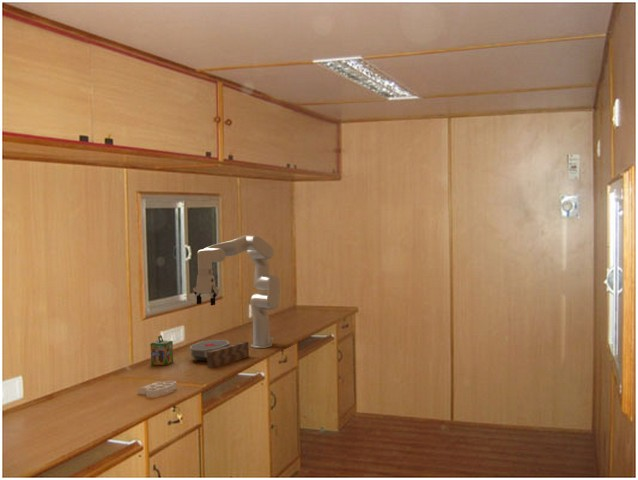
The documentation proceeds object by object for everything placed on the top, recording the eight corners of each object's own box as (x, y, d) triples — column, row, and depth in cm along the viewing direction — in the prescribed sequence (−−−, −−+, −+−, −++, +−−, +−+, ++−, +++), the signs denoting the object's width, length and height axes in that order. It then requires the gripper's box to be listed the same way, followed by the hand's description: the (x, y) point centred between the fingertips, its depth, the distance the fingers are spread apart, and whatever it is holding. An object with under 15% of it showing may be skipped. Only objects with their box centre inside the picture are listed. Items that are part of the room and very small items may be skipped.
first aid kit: (213, 364, 362) (235, 354, 386) (212, 350, 362) (234, 341, 385) (184, 362, 368) (207, 352, 392) (183, 348, 368) (207, 339, 391)
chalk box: (166, 365, 361) (166, 337, 360) (150, 365, 363) (149, 337, 362) (174, 361, 370) (173, 334, 369) (158, 361, 372) (157, 334, 371)
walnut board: (244, 355, 380) (244, 341, 380) (248, 356, 379) (248, 342, 378) (207, 367, 355) (207, 351, 355) (211, 367, 354) (211, 352, 353)
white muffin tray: (157, 386, 321) (184, 389, 315) (133, 396, 305) (160, 399, 299) (157, 379, 321) (183, 381, 315) (132, 388, 304) (160, 391, 299)
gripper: (222, 272, 365) (223, 304, 366) (197, 271, 374) (198, 302, 375) (212, 273, 359) (213, 306, 360) (188, 272, 368) (189, 304, 369)
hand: (206, 304), depth 368 cm, fingers open, 9 cm apart
